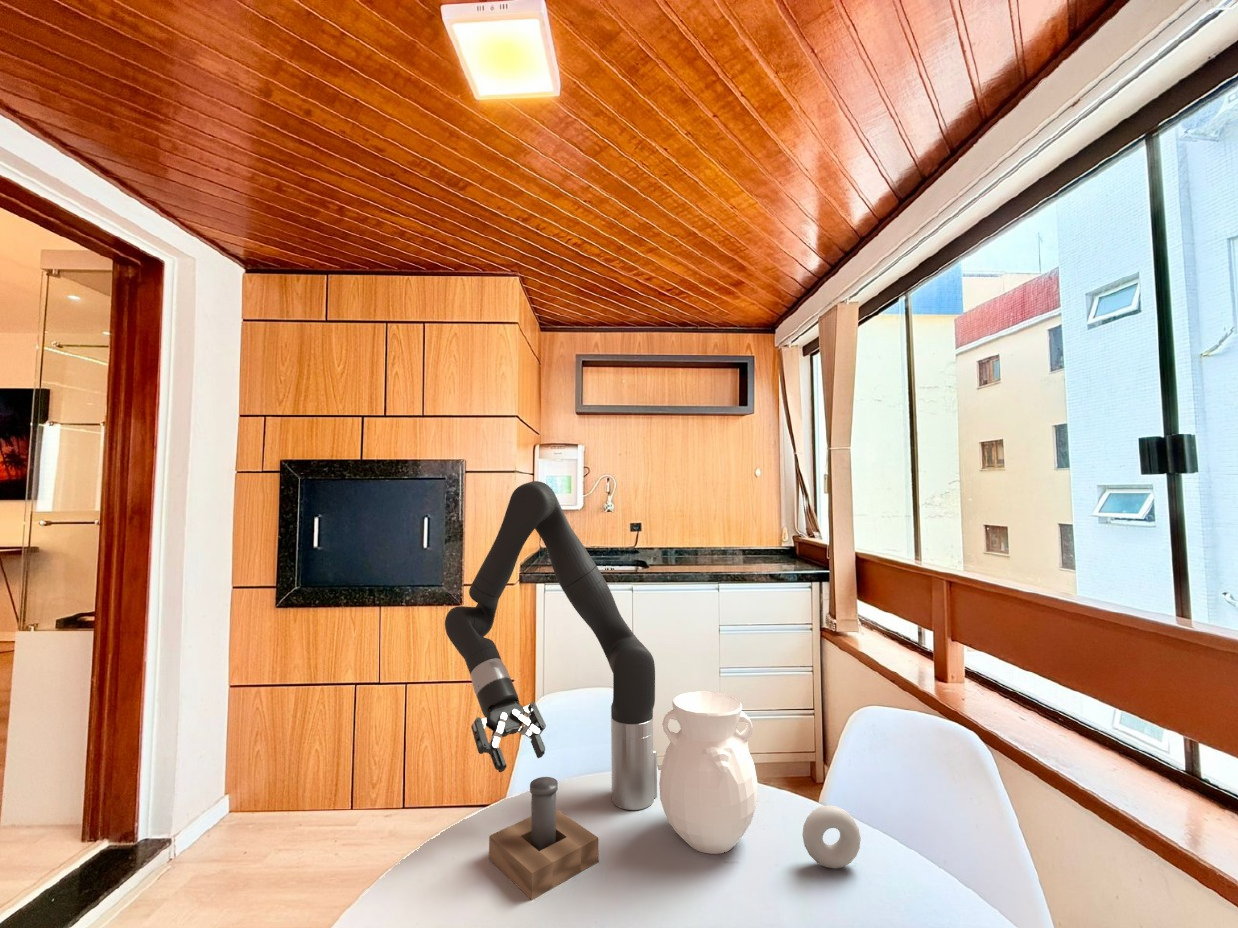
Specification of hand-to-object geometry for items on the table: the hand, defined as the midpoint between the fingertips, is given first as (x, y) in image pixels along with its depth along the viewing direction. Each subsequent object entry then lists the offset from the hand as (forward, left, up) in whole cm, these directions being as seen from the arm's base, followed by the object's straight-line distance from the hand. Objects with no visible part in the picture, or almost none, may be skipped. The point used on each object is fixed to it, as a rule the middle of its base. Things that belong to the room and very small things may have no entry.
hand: (523, 762), depth 101 cm
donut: (-36, +43, -15) cm, 58 cm away
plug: (0, +7, -14) cm, 16 cm away
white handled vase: (-27, +23, -15) cm, 38 cm away
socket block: (0, +7, -14) cm, 16 cm away
